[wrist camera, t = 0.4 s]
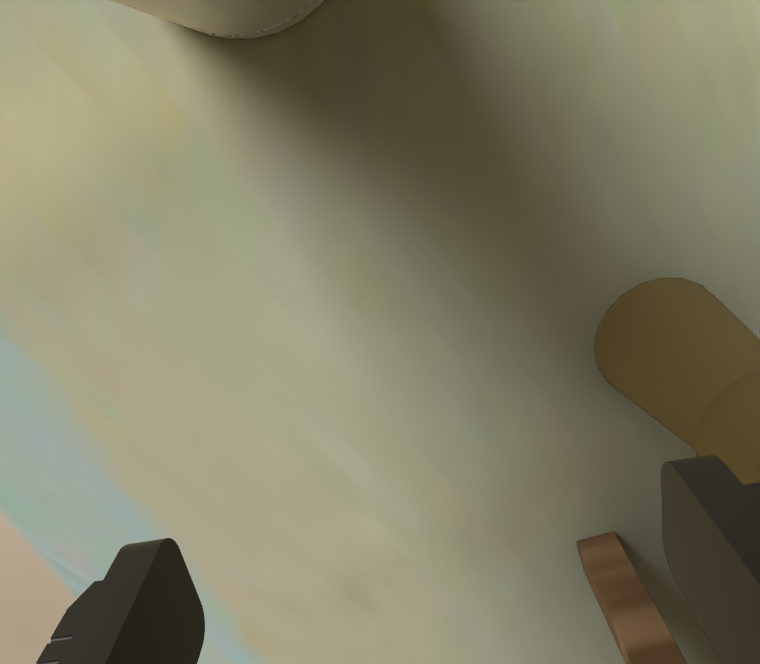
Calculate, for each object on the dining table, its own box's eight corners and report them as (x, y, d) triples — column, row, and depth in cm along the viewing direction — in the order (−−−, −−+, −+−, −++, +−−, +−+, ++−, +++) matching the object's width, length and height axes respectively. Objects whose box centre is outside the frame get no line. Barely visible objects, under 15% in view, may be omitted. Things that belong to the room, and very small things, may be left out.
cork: (753, 314, 29) (969, 440, 18) (672, 418, 31) (826, 585, 20) (647, 254, 28) (813, 352, 17) (568, 366, 29) (677, 514, 19)
